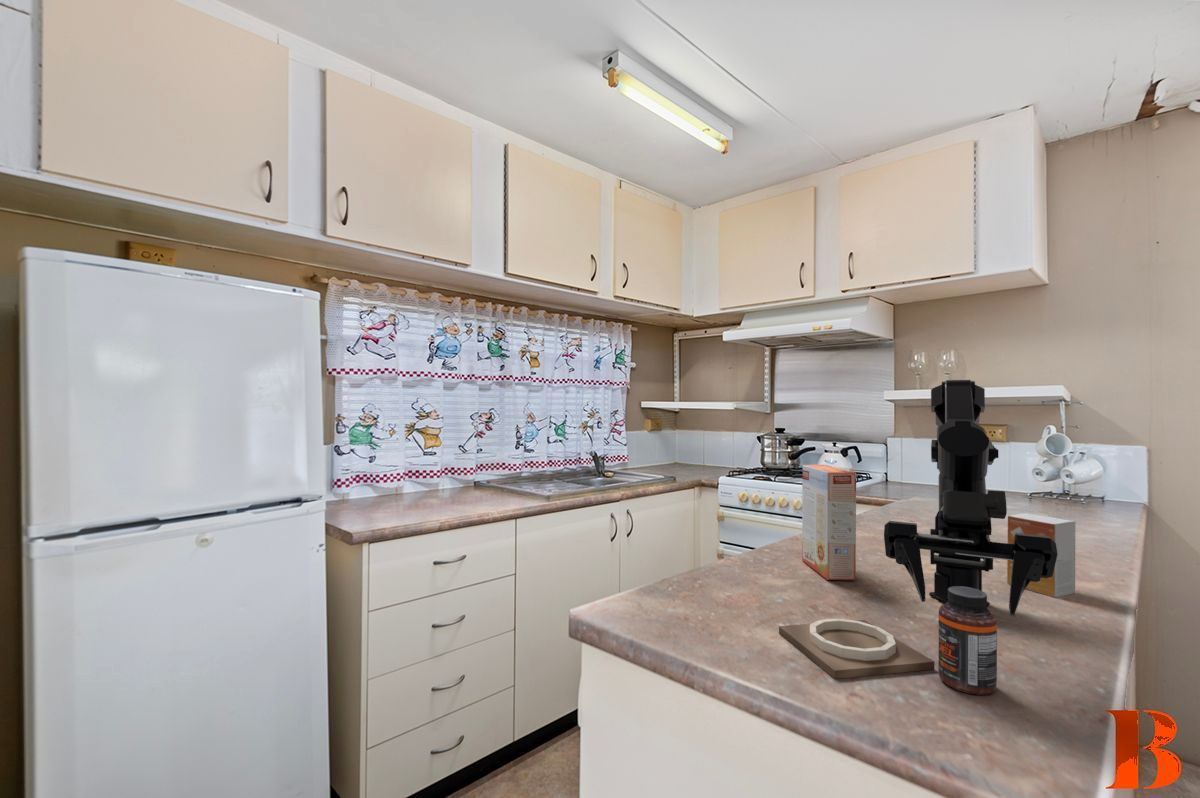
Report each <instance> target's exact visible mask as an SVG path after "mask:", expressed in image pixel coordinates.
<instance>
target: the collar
mask: <svg viewBox="0 0 1200 798" xmlns="http://www.w3.org/2000/svg"><path fill="white" fill-rule="evenodd" d="M809 624H810V641H811V642H812V643H813V644H814V645H816V646H817V647H818V648H820V649H821V650H823V651H826V652H829V653H831V654H834V655H837V656H840V657H843V658H850V659H857V660H864V661H870V660H881V659H887V658H889V657H890V656H892V655H893V654H895V653H896V643H895V641H894V638H895V637H894V636H893V634H891V633H889V632H887V631H886V630H885V629H883V628H881V627H879V626H876V625H874V624H872V625H870V624H871V623H870V624H867V623H863V622H860V621H855V620H852V619H851V620H850V619H846V618H845V619H844V618H828V619H826V618H825V619H819V620H817V621H815V622H812V623H809ZM873 625H874V626H873ZM833 629H843V630H851V631H858V632H861V633H865V634H868V635H871V636H874V637H876V638H878V639H879V640H881V641H882V642H884V643H886V644H885V645H883V646H882V647H877V648H865V649H863V648H856V647H849V646H843V645H840V644H837V643H834V642H831V641H828V640H826V639H824V638H823V637H822V636H820V635H819V634H818V633H820V632H822V631H824V630H833ZM893 637H894V638H893Z"/></svg>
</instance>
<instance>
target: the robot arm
mask: <svg viewBox="0 0 1200 798" xmlns="http://www.w3.org/2000/svg"><path fill="white" fill-rule="evenodd" d="M985 392H986V391H985V388H984V387H982V386H979V385H977V384H976V381H975V380H970V379H947V380H944V381H941V384H940V385H938V386H935V387H933V388H930V410H931V411H930V412H931V413H935V425H936V426H937V428H936V439H931V443H930V456H931V457H930V459H931V463H936V469H937V470H938V471H939V474H938V511H937V513H936V516H935V517H934V528H930V529H929V530H930V532H929V534H928V533H919V532H918V524H917V523H915V522H908V521H907V522H904V521H894V520H889V521H888V522H886V523H885V524H884V530H883V542H884V549H885V551H884V552H885V556H886V557H887V558H889V559H893V560H895V563H896V564H898V565H901V566H904V568H905V569H906V571H907V573H908V574H909V575H910V577H911V580H912V582H913V583H914V584H913V585H915V586H914V587H915V589H916V591H917V593H918V596H919V598H920V601H921V602H922V603H923V602H924V603H925V602H926V584H925V583H926V582H925V576H924V571H923V570H924V569H923V563H922V556H921V550H928V551H929V552H930V553H929V554H930V560H929V561H930V565H935V571H934V575H933V577H934V578H933V582H934V583H933V585H934V591H931V592H929V596H930V597H932V598H935V599H936V600H939V601H941V602H944V603H947V601H948V598H947V596H948V588H950V587H954V586H963V587H969V588H974V589H978V590H980V591H983V584H982V583H983V573H982V572H983V571H984V572H990V571H992V570H994V559H996V560H1003V561H1004V560H1005V561H1007V560H1012V561H1013V568H1012V574H1011V585H1009V586H1010V588H1009V589H1010V590H1009V598H1008V599H1009V601H1008V602H1009V603H1008V608H1009V611H1008V612H1009V615H1010V616H1012V617H1014V616H1016V615H1015V614H1016V611H1017V610H1018V606H1019V604H1020V600H1021V598H1022V595H1023V593H1024V592H1025V590H1027V589H1026V587H1027V586H1028V584H1029V583H1030V582H1039V581H1040V580H1041V578H1049V577H1052V576H1053V572H1054V568H1055V563H1056V559H1057V555H1058V554H1057V547H1056V543H1055V542H1054V541H1053V540H1052V539H1051V538H1050V537H1049V536H1041V535H1031V534H1021V533H1015V539H1014V544H1008V542H1007V543H1006V542H998V541H997V542H996V541H991V538H990V536H992V519H998V520H999V519H1001V520H1005V519H1006V517H1007V512H1008V511H1007V496H1006V491H1003V490H987V485H986V476H987V475H988V474H987V473H988V468H989V467H988V466H992V465H993V463H994V461H995V460H996V459H999V449H998V448H996V447H995V445H994V444H993V443H992V441H991V440H990V438H989V437H988V435H987V434H986V431H985V428H984V427H983V426H981V425H979V424H980V417H981V414H984V413H985V408H986V398H985V397H986V395H985V394H986V393H985ZM981 559H982V560H981ZM987 603H988V605H987V606H986V607H988V606H990V605H991V602H989V600H987Z"/></svg>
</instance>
